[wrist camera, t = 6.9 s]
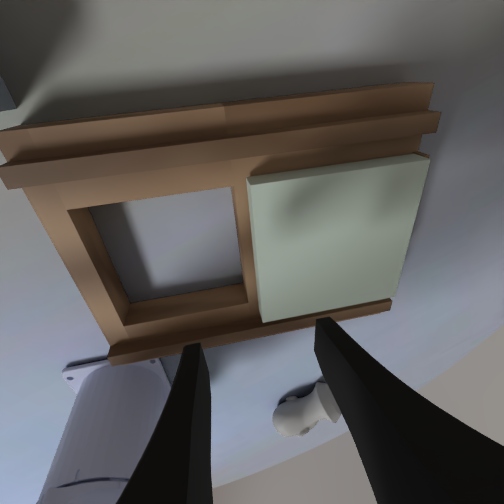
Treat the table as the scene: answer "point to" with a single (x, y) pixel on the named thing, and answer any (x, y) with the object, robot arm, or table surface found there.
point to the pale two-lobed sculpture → (305, 411)
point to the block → (5, 97)
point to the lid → (332, 233)
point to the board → (197, 179)
